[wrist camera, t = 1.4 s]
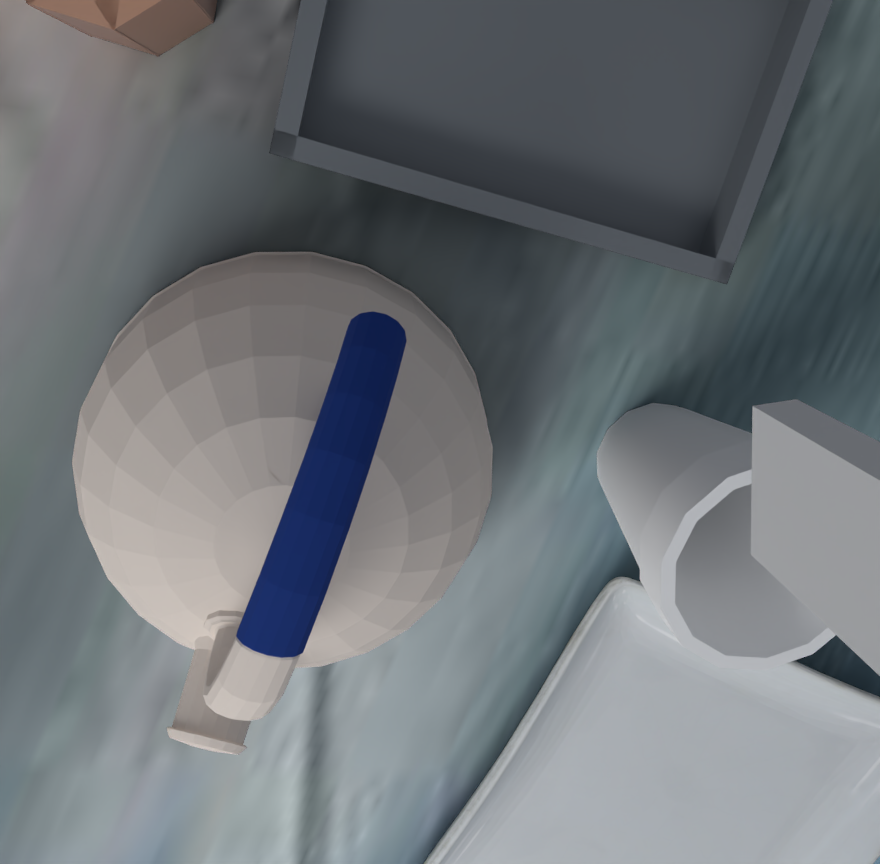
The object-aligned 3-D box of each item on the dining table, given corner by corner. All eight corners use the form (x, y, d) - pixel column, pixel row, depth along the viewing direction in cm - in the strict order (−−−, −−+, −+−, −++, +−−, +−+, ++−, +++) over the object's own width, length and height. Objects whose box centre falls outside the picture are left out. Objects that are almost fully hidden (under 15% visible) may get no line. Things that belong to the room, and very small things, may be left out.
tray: (273, 153, 38) (269, 153, 35) (345, -193, 34) (347, -224, 31) (700, 275, 42) (726, 284, 39) (806, -17, 38) (844, -31, 36)
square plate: (595, 542, 47) (618, 574, 43) (936, 702, 54) (980, 742, 50) (376, 888, 53) (380, 943, 49) (710, 992, 60) (734, 1046, 56)
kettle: (37, 563, 43) (-153, 831, 26) (159, 177, 38) (22, 196, 21) (398, 666, 47) (439, 950, 30) (549, 337, 42) (699, 459, 25)
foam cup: (614, 350, 43) (728, 427, 31) (761, 406, 45) (923, 499, 33) (542, 509, 45) (621, 639, 33) (685, 555, 47) (810, 694, 35)
